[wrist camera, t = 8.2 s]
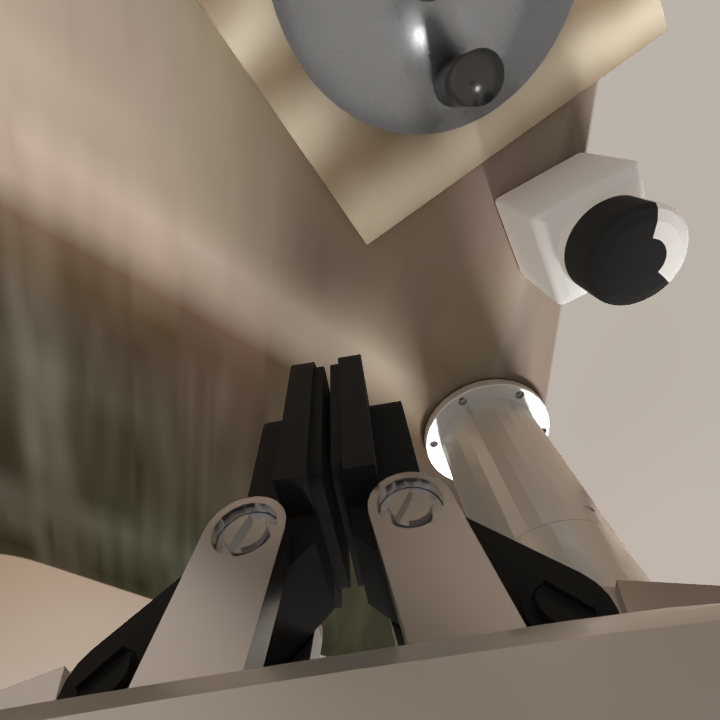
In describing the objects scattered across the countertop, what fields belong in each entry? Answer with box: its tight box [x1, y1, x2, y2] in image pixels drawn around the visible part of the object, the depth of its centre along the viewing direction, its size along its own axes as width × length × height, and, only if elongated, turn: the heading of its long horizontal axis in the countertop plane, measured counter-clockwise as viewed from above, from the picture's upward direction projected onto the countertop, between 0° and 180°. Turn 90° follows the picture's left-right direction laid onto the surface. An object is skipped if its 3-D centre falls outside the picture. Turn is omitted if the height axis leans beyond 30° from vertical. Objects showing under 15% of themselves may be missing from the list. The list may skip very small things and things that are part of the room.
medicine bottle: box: [495, 152, 689, 305], centre depth 31 cm, size 7×7×12 cm
